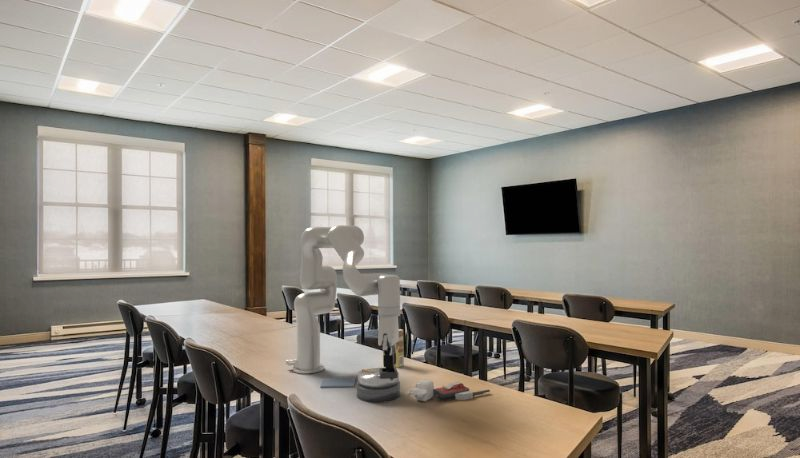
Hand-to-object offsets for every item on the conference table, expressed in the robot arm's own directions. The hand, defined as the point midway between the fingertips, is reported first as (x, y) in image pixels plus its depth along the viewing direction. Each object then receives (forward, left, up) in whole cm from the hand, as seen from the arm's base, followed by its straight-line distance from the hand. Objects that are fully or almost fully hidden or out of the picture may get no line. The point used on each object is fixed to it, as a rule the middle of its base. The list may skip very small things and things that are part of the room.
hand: (389, 365), depth 159 cm
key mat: (-19, +16, -11) cm, 27 cm away
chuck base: (-4, +2, -11) cm, 12 cm away
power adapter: (+10, -5, -11) cm, 16 cm away
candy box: (+2, +40, -11) cm, 42 cm away
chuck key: (0, 0, -3) cm, 3 cm away
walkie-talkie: (+24, 0, -11) cm, 27 cm away
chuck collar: (-4, +2, -6) cm, 8 cm away
